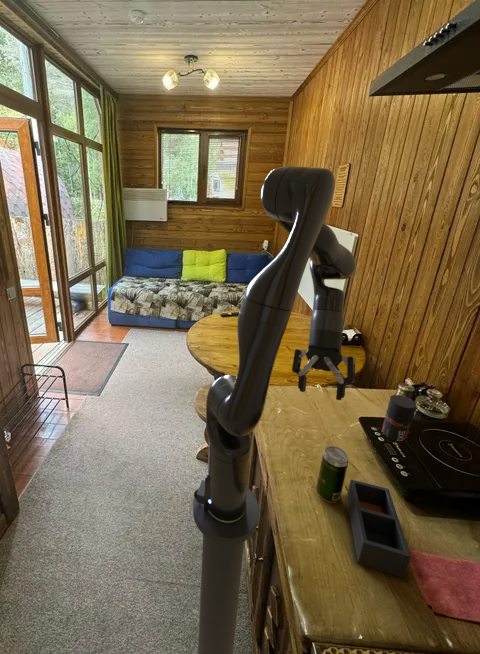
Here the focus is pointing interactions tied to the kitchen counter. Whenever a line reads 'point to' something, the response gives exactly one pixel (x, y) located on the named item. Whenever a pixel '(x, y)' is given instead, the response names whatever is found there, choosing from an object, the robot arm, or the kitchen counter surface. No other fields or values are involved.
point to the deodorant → (398, 417)
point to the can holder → (377, 529)
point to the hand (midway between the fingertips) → (320, 395)
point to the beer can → (332, 474)
